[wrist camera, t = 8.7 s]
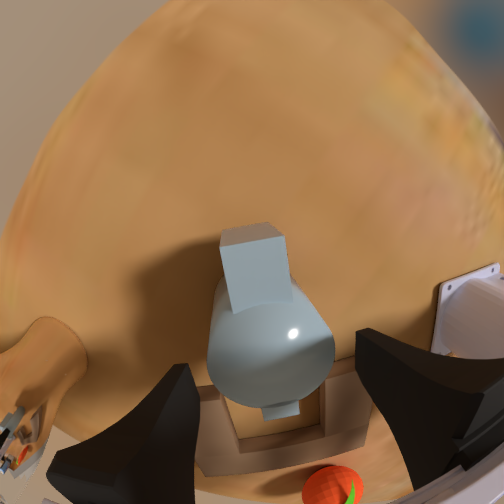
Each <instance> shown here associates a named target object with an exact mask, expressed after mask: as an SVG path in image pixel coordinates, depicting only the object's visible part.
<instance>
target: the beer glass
mask: <svg viewBox="0 0 504 504" xmlns="http://www.w3.org/2000/svg"><path fill="white" fill-rule="evenodd" d="M87 366H88V360H87V355H86V352H85V349H84V347H83V345H82V343H81V342H80V340H79V339H78V337H77V336H76V335H75V333H74V332H73V331H72V330H71V329H70V328H69V327H67V326H66V325H65V324H64V323H62V322H60V321H59V320H57V319H54V318H51V317H42V318H39V319H37V320H36V321H35V322H34V323H33V324H32V326H31V327H30V328H29V330H28V331H27V333H26V334H25V335H24V337H23V338H22V339H21V340H20V341H19V342H18V343H17V344H16V345H14V346H13V347H12V348H10V349H8V350H7V351H5V352H3V353H1V354H0V504H15V503H16V501H17V500H18V498H19V497H20V495H21V493H22V492H23V490H24V489H25V487H26V485H27V484H28V482H29V480H30V479H31V477H32V475H33V473H34V471H35V469H36V467H37V465H38V463H39V461H40V459H41V457H42V455H43V452H44V449H45V446H46V443H47V441H48V438H49V435H50V431H51V428H52V425H53V422H54V419H55V416H56V413H57V410H58V407H59V405H60V402H61V400H62V398H63V397H64V395H65V393H66V392H67V391H68V389H69V388H70V387H71V386H73V385H74V384H75V383H76V382H77V381H78V380H79V379H81V378H82V377H83V375H84V374H85V373H86V370H87Z"/></svg>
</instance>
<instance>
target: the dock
mask: <svg viewBox="0 0 504 504" xmlns="http://www.w3.org/2000/svg"><path fill="white" fill-rule="evenodd" d="M197 390H198V393H199V396H200V423H199V431H198V438H197V445H196V452H195V461H196V463H197V464H198V466H199V468H200V469H201V471H202V472H203V474H204V475H205V477H212V476H228V475H239V474H248V473H255V472H263V471H269V470H275V469H281V468H286V467H291V466H296V465H300V464H305V463H309V462H313V461H317V460H321V459H324V458H328V457H332V456H335V455H338V454H342V453H345V452H348V451H351V450H354V449H357V448H360V447H363V446H364V444H365V440H366V435H367V430H368V425H369V419H370V413H371V407H372V401H373V400H372V399H371V397H370V396H369V394H368V392H367V391H366V389H365V388H364V386H363V385H362V383H361V381H360V378H359V376H358V374H357V372H356V370H355V356H353V357H349V358H346V359H342V360H339V361H335V362H334V363H333V365H332V368H331V370H330V372H329V374H328V376H327V377H326V379H325V380H324V381H323V382H322V384H321V385H320V386H319V393H320V424H318V425H314V426H310V427H306V428H302V429H297V430H293V431H288V432H283V433H278V434H272V435H267V436H261V437H254V438H247V439H240V440H239V439H238V437H237V434H236V431H235V428H234V425H233V422H232V419H231V416H230V413H229V410H228V407H227V404H226V401H225V398H224V395H223V394H222V393H221V392H220V391H219V390H218V389H217V388H216V387H215V386H214V385H210V386H201V387H197Z"/></svg>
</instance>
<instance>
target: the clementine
mask: <svg viewBox="0 0 504 504" xmlns="http://www.w3.org/2000/svg"><path fill="white" fill-rule="evenodd" d="M363 487H364V486H363V482H362V480H361V478H360V477H359V475H358V474H357V473H356V472H355V471H354V470H352V469H350V468H347V467H344V466H329V467H326V468H323V469H320V470H318V471H317V472H315V473H314V474H313V475H312V476H310V477H309V478H308V480H307V481H306V483H305V484H304V487H303V490H302V500H303V503H304V504H357V503H358V502H359V501H360V499H361V497H362V494H363Z"/></svg>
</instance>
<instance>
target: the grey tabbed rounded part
mask: <svg viewBox="0 0 504 504" xmlns="http://www.w3.org/2000/svg"><path fill="white" fill-rule="evenodd" d="M219 248H220V253H221V258H222V263H223V268H224V273H225V274H224V275H223V277H222V278H221V279H220V281H219V283H218V285H217V287H216V290H215V294H214V302H213V310H212V318H211V327H210V335H209V344H208V353H207V369H208V373H209V376H210V379H211V381H212V382H213V384H214V386H215V387H216V388H217V389H218V390H219V391H220V392H221V393H222V394H223V395H224V396H226V397H227V398H229V399H230V400H232V401H234V402H236V403H239V404H241V405H244V406H248V407H254V408H261V409H262V413H263V418H264V421H269V420H274V419H279V418H284V417H289V416H293V415H298V414H300V413H299V403H298V401H299V400H301V399H303V398H304V397H306V396H308V395H309V394H310V393H312V392H313V391H314V390H315V389H317V388H318V387H319V386H320V385H321V384H322V382H323V381H324V380H325V379H326V377H327V376H328V374H329V372H330V370H331V368H332V365H333V363H334V358H335V342H334V338H333V335H332V333H331V331H330V329H329V328H328V326H327V325H326V323H325V322H324V321H323V319H322V318H321V316H320V315H319V313H318V312H317V311H316V309H315V308H314V306H313V305H312V303H311V302H310V301H309V299H308V298H307V296H306V295H305V293H304V292H303V291H302V289H301V288H300V286H299V285H298V284H297V282H296V281H295V279H294V278H293V277H292V275H291V274H290V273H289V265H288V258H287V251H286V244H285V237H284V235H283V234H282V233H281V232H279V231H278V230H277V229H276V228H275V227H274V226H272V225H271V224H270V223H269V222H264V223H258V224H252V225H247V226H241V227H236V228H230V229H225V230H222V235H221V240H220V246H219Z"/></svg>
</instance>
